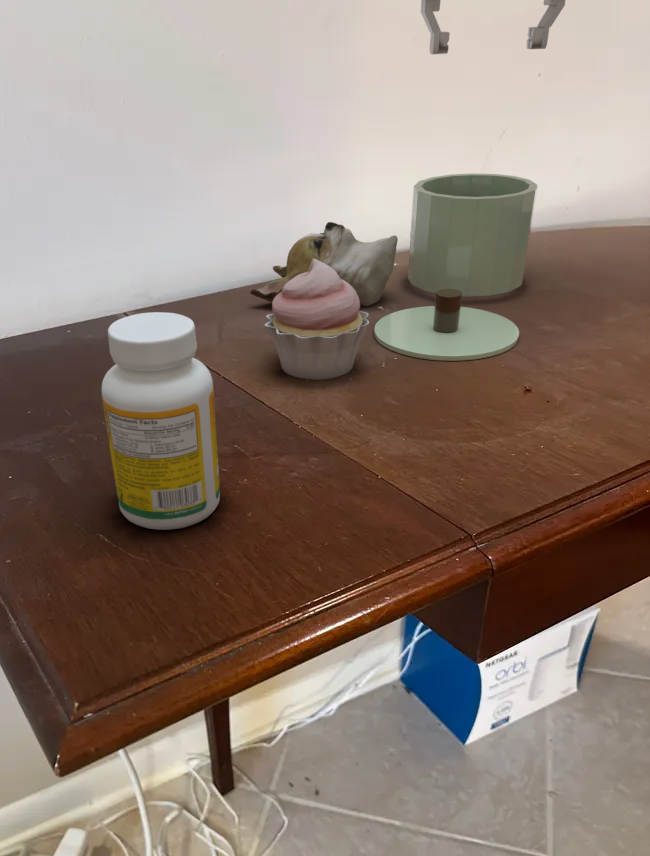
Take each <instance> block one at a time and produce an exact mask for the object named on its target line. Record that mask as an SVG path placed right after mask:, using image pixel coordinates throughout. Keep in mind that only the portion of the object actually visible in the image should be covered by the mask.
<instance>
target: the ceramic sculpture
mask: <svg viewBox="0 0 650 856" xmlns="http://www.w3.org/2000/svg"><path fill="white" fill-rule="evenodd" d="M397 244H398V236H396V235H391V236H389V237H385V238H380V239H377V240H374V241H369V242H368V241H367V242H366V241H365V242H364V241H360V240H358V239H356V237H355V236H354V234H353V233H352V231H351V230H350V229H349V228H346V227H345V226H344V225H343V224H338V223H336V222H332V221H328V222H327V223H326V224H325V226H324V229H323V232H320V233H315V232H314V233H312V232H311V233H308V234H305V235H304V236H302V237H301V238H299V239H298V240H297V241H295V243H294V244H293V245H292V247H291V248H290V250H289V252H288V254H287V257H286V266H281V265H273V266H272V270H273V272H274V273H276V274H277V275H279V276H280V277H281V278H279V279H274V280H272V281H270V282H268V283H267V284H265V286H263V287H259V288H253V289H250V290H249V294H250V295H252V296H254V297H257V298H259V299H262V300H265V301H267V302H271V303H272V302H273V299H274V298H275V297H276V296H277V295H278V294H279V293H280V292H282V290H283V288H284V286H285V284H286V283H287V282H289V281H290V280H291V279H293V278H294V277H296V276H297V275H300V274H302V273H305V272H309V267H310V264H311V262H312V260H313V259H316V260H318V261H320V262H322V263H324V264H326V265H328V266H330V267H331V268H332V269H334V270H335V271H336V273H337V274H338V275H339V277H340V278H341V279H342V280H344V281H346V282H347V283H349V284H350V285H351V286H352V287H353V288H354V290H355V291H356V293H357V295H358V297H359V301H360V306H363V307H370V306H372V305H374V304H376V303H378V302H379V301H381V298H382V296H383V293H384V291H385V288H386V285H387V282H388V280H389V279H390V277H391V275H392V273H393V271H394V267H395V266H394V265H395V258H396V254H397V246H398V245H397Z"/></svg>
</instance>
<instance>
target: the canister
mask: <svg viewBox="0 0 650 856" xmlns="http://www.w3.org/2000/svg"><path fill="white" fill-rule="evenodd" d="M537 191H538V184H537V183H536V182H534V181H533V180H531V179H529V178H524V177H520V176H517V175H509V174H508V175H507V174H498V173H471V172H470V173H455V174H454V173H453V174H444V175H437V176H431V177H428V178H424V179H421V180H419V181H417V182H416V183H415V184H414V185H413V192H412V206H411V220H410V221H411V222H410V223H411V224H410V236H409V237H410V238H409V250H408V251H409V253H408V266H407V281H409V283H410V285H411V286H412V287H415V288H418V289H419V290H420V291H424V292H428V293H432V294H436V292H437V291H439V290H442V289H455V290H459V291H461V292H462V298H463V297H465V298H469V297H470V298H471V297H472V298H473V297H490V296H496V295H501V294H506V293H510V292H512V291H515V290H516V289H518V288H520V287H522V285H523V282H524V280H525V273H526V266H527V258H528V253H529V252H528V251H529V245H530V239H531V231H532V226H533V225H532V224H533V218H534V212H535V205H536V199H537Z"/></svg>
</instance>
